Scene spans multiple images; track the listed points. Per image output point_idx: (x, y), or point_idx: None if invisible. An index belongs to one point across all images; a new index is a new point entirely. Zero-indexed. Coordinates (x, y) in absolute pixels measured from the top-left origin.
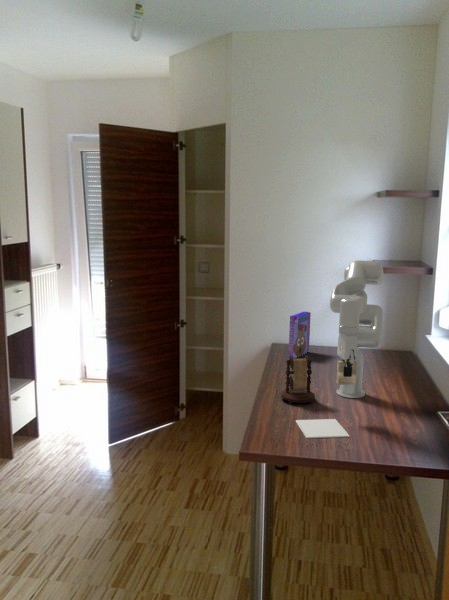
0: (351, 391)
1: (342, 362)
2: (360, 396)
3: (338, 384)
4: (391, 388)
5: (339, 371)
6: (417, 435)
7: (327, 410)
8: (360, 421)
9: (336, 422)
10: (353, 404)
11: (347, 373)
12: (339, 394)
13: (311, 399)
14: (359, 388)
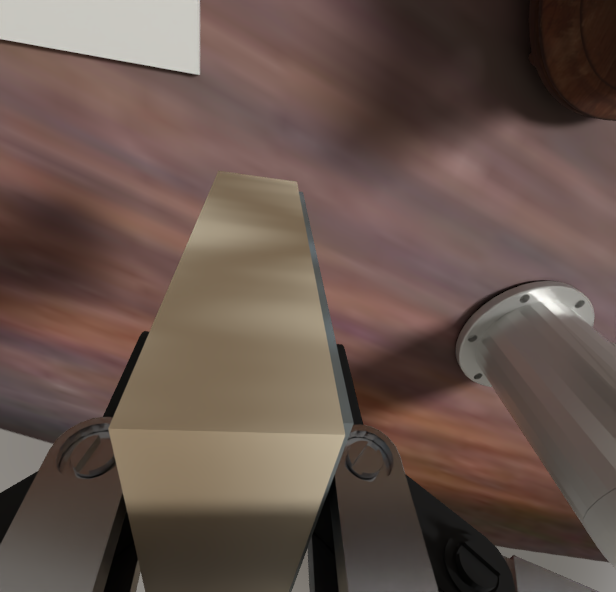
0: (497, 339)
1: (124, 488)
2: (457, 354)
3: (219, 173)
4: (480, 463)
5: (181, 260)
6: (10, 371)
7: (373, 108)
8: (172, 223)
9: (131, 47)
10: (400, 292)
11: (138, 352)
12: (533, 284)
13: (539, 44)
14: (489, 379)
